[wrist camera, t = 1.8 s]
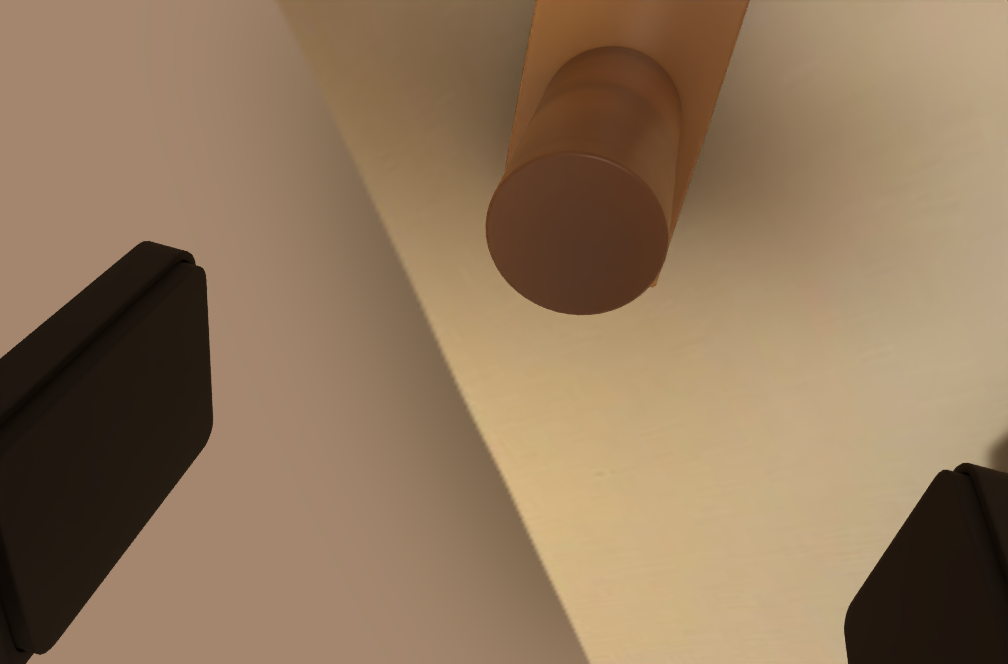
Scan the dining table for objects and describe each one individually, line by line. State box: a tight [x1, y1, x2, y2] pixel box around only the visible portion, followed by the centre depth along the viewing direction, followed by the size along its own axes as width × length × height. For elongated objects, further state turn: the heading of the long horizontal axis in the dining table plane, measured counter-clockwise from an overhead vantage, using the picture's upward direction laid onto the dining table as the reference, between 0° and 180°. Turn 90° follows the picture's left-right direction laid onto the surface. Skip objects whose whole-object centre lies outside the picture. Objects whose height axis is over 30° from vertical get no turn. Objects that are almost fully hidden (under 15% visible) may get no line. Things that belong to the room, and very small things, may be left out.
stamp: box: [486, 0, 750, 315], centre depth 18 cm, size 4×8×9 cm, turn 170°
